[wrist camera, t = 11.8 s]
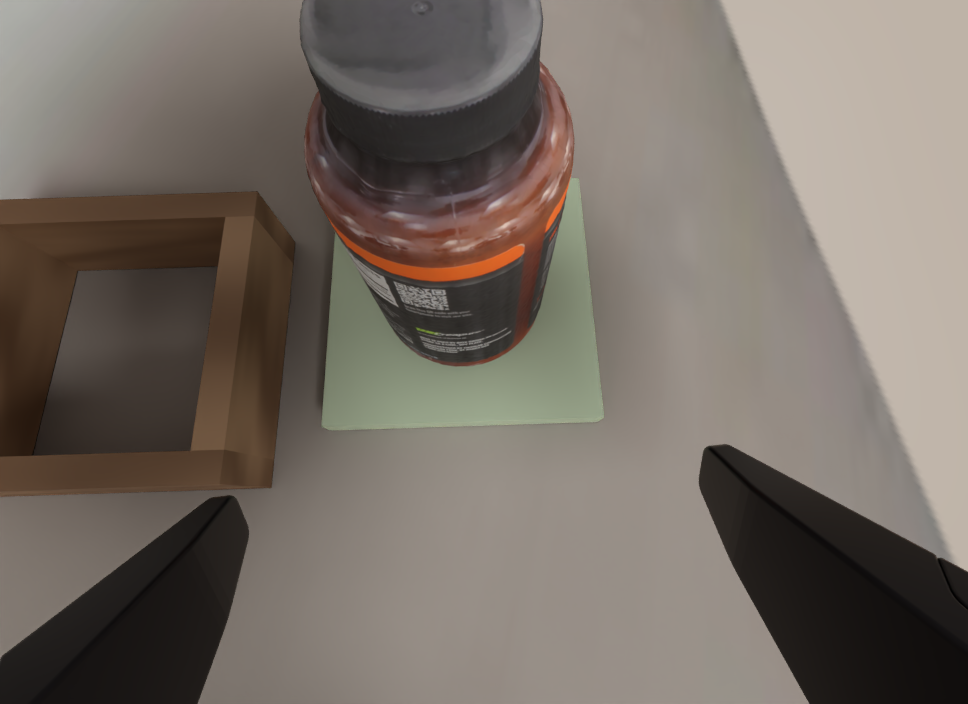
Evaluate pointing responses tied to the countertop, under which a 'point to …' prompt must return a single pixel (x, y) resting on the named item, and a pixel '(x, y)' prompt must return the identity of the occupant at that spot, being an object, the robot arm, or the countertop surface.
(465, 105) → the supplement bottle
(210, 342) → the walnut collar
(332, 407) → the sage rubber mat
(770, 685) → the countertop surface
